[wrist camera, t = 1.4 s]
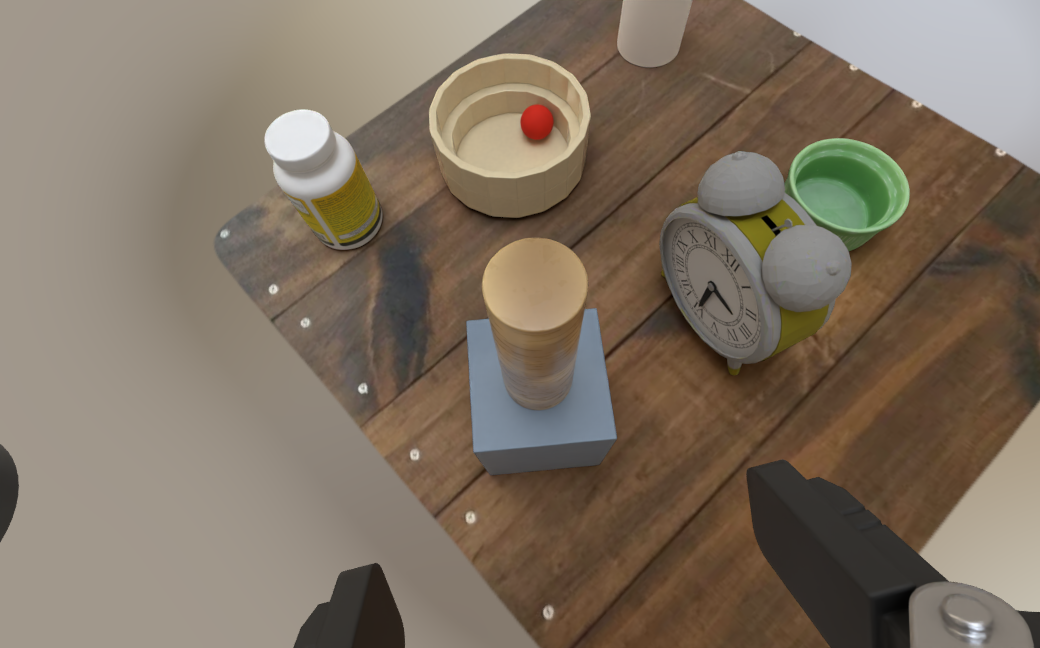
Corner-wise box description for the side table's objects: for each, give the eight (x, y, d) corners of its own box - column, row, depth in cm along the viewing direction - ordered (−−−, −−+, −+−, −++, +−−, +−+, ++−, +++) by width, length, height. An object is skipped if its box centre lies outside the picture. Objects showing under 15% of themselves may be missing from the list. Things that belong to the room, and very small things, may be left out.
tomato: (522, 148, 50) (521, 124, 47) (519, 123, 51) (518, 98, 48) (554, 145, 50) (555, 121, 47) (551, 120, 51) (551, 95, 48)
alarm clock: (641, 272, 45) (684, 149, 31) (710, 239, 46) (782, 105, 32) (723, 393, 41) (816, 313, 27) (797, 354, 41) (924, 257, 28)
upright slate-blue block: (489, 475, 39) (473, 452, 30) (483, 370, 42) (466, 320, 33) (600, 465, 39) (617, 439, 30) (585, 360, 42) (596, 307, 33)
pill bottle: (390, 195, 49) (349, 101, 39) (377, 254, 46) (330, 171, 36) (323, 191, 49) (266, 98, 39) (307, 250, 47) (242, 167, 37)
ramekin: (865, 172, 48) (895, 137, 44) (888, 261, 44) (923, 232, 40) (762, 171, 48) (782, 137, 44) (776, 259, 45) (800, 231, 41)
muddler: (506, 413, 30) (485, 337, 19) (501, 347, 32) (478, 242, 21) (576, 407, 30) (595, 326, 19) (568, 341, 32) (580, 232, 21)
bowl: (444, 229, 47) (431, 186, 42) (439, 112, 52) (427, 60, 47) (594, 214, 47) (600, 169, 42) (574, 98, 52) (578, 45, 47)
